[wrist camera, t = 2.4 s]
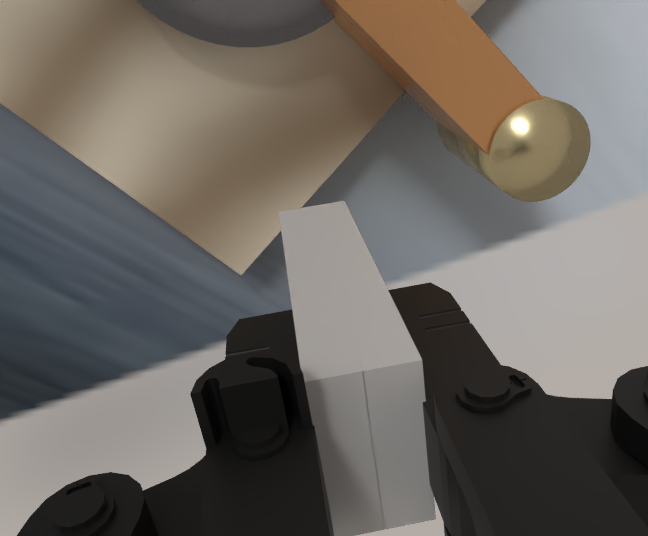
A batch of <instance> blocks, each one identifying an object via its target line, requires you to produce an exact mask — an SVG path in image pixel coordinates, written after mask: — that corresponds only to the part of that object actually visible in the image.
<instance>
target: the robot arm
mask: <svg viewBox="0 0 648 536" xmlns="http://www.w3.org/2000/svg"><path fill="white" fill-rule="evenodd" d="M279 218H280V226H281V233H282V240H283V247H284V254H285V261H286V268H287V276H288V283H289V290H290V297H291V304H292V310H288V311H282V312H277V313H271V314H266V315H260V316H255V317H249V318H244V319H239V320H238V322H237V323H236V325H235V326H234V327H233V329H232V330H231V331H230V333H229V334H228V335H227V342H226V357H225V360H224V361H222V362H220V363H218V364H216V365H215V366H213V367H211V368H209V369H208V370H207V371H206V372H205V373H204V374H203V375H202V376H201V377H200V378H198V379H197V380H196V383H195V385H194V387H193V389H192V391H191V398H192V401H193V404H194V408H195V411H196V414H197V418H198V422H199V425H200V428H201V432H202V435H203V439H204V442H205V445H206V455H205V456H204V457H203V458H202V460H200V461H199V462H198V463H196V464H195V465H194V466H192V467H191V468H190V469H188V470H186V471H185V472H183V473H181V474H179V475H177V476H175V477H173V478H171V479H169V480H166V481H164V482H162V483H160V484H157V485H155V486H153V487H151V488H148V489H146V490H144V491H143V490H142V487H141V485H140V484H139V483H138V482H137V481H135V480H134V479H133V478H131V477H130V476H129V475H124V474H118V473H112V472H110V473H103V474H97V475H91V476H88V477H85V478H83V479H80V480H78V481H76V482H73V483H71V484H68V485H66V486H65V487H63V488H62V489H61V490H59V491H58V492H56V493H55V494H53V495H52V496H50V497H49V498H47V499H46V500H45V501H44V502H43V503H42V504H41V505H40V507H39V508H38V509H37V510H36V511H35V512H34V513H33V514H32V515H31V516H30V518H29V519H28V520H27V522H26V523H25V525H24V526H23V528H22V529H21V530H20V532H19V533H18V535H17V536H354V535H359V534H364V533H369V532H374V531H379V530H384V529H389V528H394V527H399V526H404V525H409V524H414V523H419V522H424V521H429V520H434V519H436V516H435V504H434V497H435V500H436V503H437V505H438V508H439V510H440V513H441V516H442V518H443V521H444V532H445V536H648V366H646V367H641V368H637V369H632V370H630V371H628V372H627V373H625V374H624V375H622V376H621V377H619V378H618V379H617V382H616V384H615V387H614V389H613V396H612V399H587V398H566V397H555V396H551V395H547V394H545V392H544V391H543V390H542V388H541V387H540V386H539V385H538V383H536V382H535V381H534V380H533V379H532V378H530V377H529V376H528V375H527V374H525V373H523V372H521V371H518V370H516V369H513V368H511V367H509V366H502V365H500V363H499V362H498V360H497V359H496V358H495V356H494V355H493V353H492V352H491V351H490V349H489V348H488V346H487V345H486V343H485V342H484V341H483V339H482V338H481V336H480V335H479V333H478V332H477V330H476V329H475V328H474V326H473V325H472V324H470V321H469V319H468V318H467V316H466V315H465V313H464V312H463V311H461V308H460V306H459V305H458V304H457V302H456V301H455V299H454V298H453V296H452V295H451V293H449V292H447V291H445V290H443V289H442V288H440V287H438V286H435V285H434V284H432V283H425V284H420V285H414V286H409V287H404V288H398V289H392V290H388V289H387V287H386V285H385V283H384V281H383V279H382V277H381V275H380V272H379V270H378V268H377V266H376V264H375V262H374V260H373V258H372V256H371V254H370V252H369V250H368V248H367V246H366V244H365V242H364V240H363V238H362V236H361V234H360V232H359V230H358V227H357V225H356V223H355V221H354V219H353V217H352V215H351V213H350V211H349V209H348V207H347V205H346V203H345V201H338V202H333V203H327V204H321V205H315V206H310V207H304V208H298V209H292V210H287V211H281V212H279Z"/></svg>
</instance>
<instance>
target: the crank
mask: <svg viewBox="0 0 648 536" xmlns="http://www.w3.org/2000/svg"><path fill="white" fill-rule="evenodd" d="M136 1H137V2H138V3H139V4H140V5H141V6H142V7H143V8H145V9H146V10H147V11H149V12H150V13H151V14H153V15H154V16H155V17H156V18H158V19H159V20H161V21H163V22H164V23H166V24H168V25H169V26H171V27H173V28H175V29H176V30H178V31H180V32H183V33H185V34H187V35H190V36H192V37H194V38H197V39H200V40H203V41H207V42H210V43H214V44H218V45H225V46H232V47H264V46H271V45H278V44H281V43H285V42H288V41H292V40H295V39H298V38H300V37H302V36H304V35H307V34H309V33H311V32H314V31H315V30H317V29H318V28H320V27H322V26H323V25H325V24H327V23H328V22H330V21H331V20H332V19H333V20H334V21H335V22H336V23H337V24H338V25H339V26H340V27H341V28H342V29H343V30H344V31H345V32H346V33H347V34H348V35H349V36H350V37H351V38H352V39H353V40H354V41H355V42H356V43H357V44H358V45H359V46H360V47H361V48H362V49H363V50H364V51H365V52H366V53H367V54H368V55H369V56H370V57H371V58H372V59H373V60H374V61H375V62H376V63H378V64H379V65H380V66H381V67H382V68H383V69H384V70H385V71H386V72H387V73H388V74H389V75H390V76H391V77H392V78H393V79H394V80H395V81H396V82H397V83H398V84H399V85H400V86H401V87H402V88H403V89H404V90H405V91H406V92H407V93H408V94H409V95H410V96H411V97H412V98H413V99H414V100H415V101H416V102H417V103H418V104H419V105H420V106H421V107H422V108H423V109H424V110H425V111H426V112H427V113H428V114H429V115H430V116H431V117H432V118H433V119H434V120H435V121H436V122H437V123H438V132H439V136H440V138H441V140H442V142H443V144H444V145H445V147H446V148H447V149H448V150H449V151H450V152H452V153H453V154H454V155H456V156H457V157H458V158H460V159H461V160H462V161H464V162H465V163H467V164H468V165H469V166H471V167H472V168H473V169H475V170H476V171H477V172H479V173H480V174H482V175H483V176H484V177H486V178H487V179H488V180H490V181H491V182H492V183H494V184H495V185H496V186H498V187H499V188H501V189H502V190H503V191H505V192H506V193H507V194H509V195H510V196H512V197H514V198H516V199H519V200H523V201H530V202H531V201H542V200H546V199H549V198H551V197H554V196H556V195H558V194H559V193H561V192H563V191H564V190H565V189H567V188H568V187H569V186H570V185H571V184H572V183H573V182H574V181H575V180H576V179H577V177H578V176H579V175H580V173H581V172H582V170H583V168H584V166H585V164H586V162H587V159H588V155H589V151H590V132H589V128H588V125H587V123H586V121H585V119H584V117H583V116H582V115H581V113H580V112H579V111H578V110H577V109H575V108H574V107H572V106H571V105H569V104H567V103H564V102H561V101H558V100H555V99H552V98H549V97H545V96H542V95H540V94H539V93H538V92H537V91H536V90H535V89H534V88H533V86H532V85H531V84H530V83H529V82H528V81H527V80H526V79H525V77H524V76H523V75H522V74H521V73H520V72H519V71H518V70H517V68H516V67H515V66H514V65H513V64H512V63H511V62H510V61H509V60H508V58H507V57H506V56H505V55H504V54H503V53H502V52H501V51H500V49H499V48H498V47H497V46H496V45H495V44H494V43H493V42H492V41H491V39H490V38H489V37H488V36H487V35H486V34H485V33H484V32H483V30H482V29H481V28H480V27H479V26H478V25H477V24H476V23H475V22H474V20H473V19H472V18H471V17H470V16H469V15H468V14H467V13H466V11H465V10H464V9H463V8H462V7H461V6H460V5H459V4H458V3H457V1H456V0H136Z"/></svg>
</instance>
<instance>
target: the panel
mask: <svg viewBox="0 0 648 536" xmlns="http://www.w3.org/2000/svg"><path fill="white" fill-rule="evenodd" d="M456 1H457V3H458V4H459V5H460V6H461V7H462V8H463V9H464V10H465V11H466V13H467V14H468V15H469V16H470V17H472V16H473V14H474V13H475V12H476V11H477V10H478V9H479V8H480V7H481V6H482V4H483V3H484V2H485V1H486V0H456ZM404 92H405V90H404V89H403V88H402V87H401V86H400V85H399V84H398V83H397V82H396V81H395V80H394V79H393V78H392V77H391V76H390V75H389V74H388V73H387V72H386V71H385V70H384V69H383V68H382V67H381V66H380V65H379V64H378V63H376V62H375V61H374V60H373V59H372V58H371V57H370V56H369V55H368V54H367V53H366V52H365V51H364V50H363V49H362V48H361V47H360V46H359V45H358V44H357V43H356V42H355V41H354V40H353V39H352V38H351V37H350V36H349V35H348V34H347V33H346V32H345V31H344V30H343V29H342V28H341V27H340V26H339V25H338V24H337V23H336V22H335V21H334V20H333V19H332V20H331V21H330V22H328V23H327V24H325V25H323V26H322V27H320V28H318V29H317V30H315V31H314V32H311V33H309V34H307V35H304V36H302V37H300V38H298V39H295V40H292V41H288V42H285V43H281V44H278V45H271V46H264V47H232V46H225V45H218V44H214V43H210V42H207V41H203V40H200V39H197V38H194V37H192V36H190V35H187V34H185V33H183V32H180V31H178V30H176V29H175V28H173V27H171V26H169V25H168V24H166V23H164V22H163V21H161V20H159V19H158V18H156V17H155V16H154V15H153V14H151V13H150V12H149V11H147V10H146V9H145V8H143V7H142V6H141V5H140V4H139V3H138V2H137V1H136V0H0V103H1V104H2V105H4V106H5V107H6V108H8V109H9V110H11V111H12V112H13V113H15V114H16V115H18V116H19V117H20V118H22V119H23V120H25V121H26V122H27V123H29V124H30V125H32V126H33V127H34V128H36V129H37V130H39V131H40V132H41V133H43V134H44V135H46V136H47V137H48V138H50V139H51V140H53V141H54V142H55V143H57V144H58V145H60V146H61V147H62V148H64V149H65V150H67V151H68V152H69V153H71V154H72V155H74V156H75V157H76V158H78V159H79V160H80V161H82V162H83V163H85V164H86V165H87V166H89V167H90V168H92V169H93V170H94V171H96V172H97V173H99V174H100V175H101V176H103V177H104V178H106V179H107V180H108V181H110V182H111V183H113V184H114V185H115V186H117V187H118V188H120V189H121V190H122V191H124V192H125V193H127V194H128V195H129V196H131V197H132V198H134V199H135V200H136V201H138V202H139V203H141V204H142V205H143V206H145V207H146V208H148V209H149V210H150V211H152V212H153V213H155V214H156V215H157V216H159V217H160V218H162V219H163V220H164V221H166V222H167V223H169V224H170V225H171V226H173V227H174V228H175V229H177V230H178V231H180V232H181V233H182V234H184V235H185V236H187V237H188V238H189V239H191V240H192V241H194V242H195V243H196V244H198V245H199V246H201V247H202V248H203V249H205V250H206V251H208V252H209V253H210V254H212V255H213V256H215V257H216V258H217V259H219V260H220V261H222V262H223V263H224V264H226V265H227V266H229V267H230V268H231V269H233V270H234V271H236V272H237V273H238V274H240V275H242V274H243V273H244V272H245V271H246V269H247V268H248V267H249V266H250V265H251V264H252V263H253V262H254V260H255V259H256V258H257V257H258V256H259V255H260V254H261V253H262V251H263V250H264V249H265V248H266V247H267V246H268V245H269V244H270V242H271V241H272V240H273V239H274V238H275V237H276V236H277V235H278V233H279V232H280V231H281V226H280V218H279V212H281V211H287V210H292V209H298V208H302V207H303V205H304V204H305V203H306V202H307V201H308V200H309V199H310V198H311V196H312V195H313V194H314V193H315V192H316V191H317V190H318V189H319V187H320V186H321V185H322V184H323V183H324V182H325V181H326V180H327V178H328V177H329V176H330V175H331V174H332V173H333V172H334V171H335V169H336V168H337V167H338V166H339V165H340V164H341V163H342V162H343V160H344V159H345V158H346V157H347V156H348V155H349V154H350V153H351V152H352V150H353V149H354V148H355V147H356V146H357V145H358V144H359V143H360V141H361V140H362V139H363V138H364V137H365V136H366V135H367V134H368V132H369V131H370V130H371V129H372V128H373V127H374V126H375V125H376V123H377V122H378V121H379V120H380V119H381V118H382V117H383V116H384V114H385V113H386V112H387V111H388V110H389V109H390V108H391V107H392V105H393V104H394V103H395V102H396V101H397V100H398V99H399V98H400V96H401V95H402V94H403V93H404Z"/></svg>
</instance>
